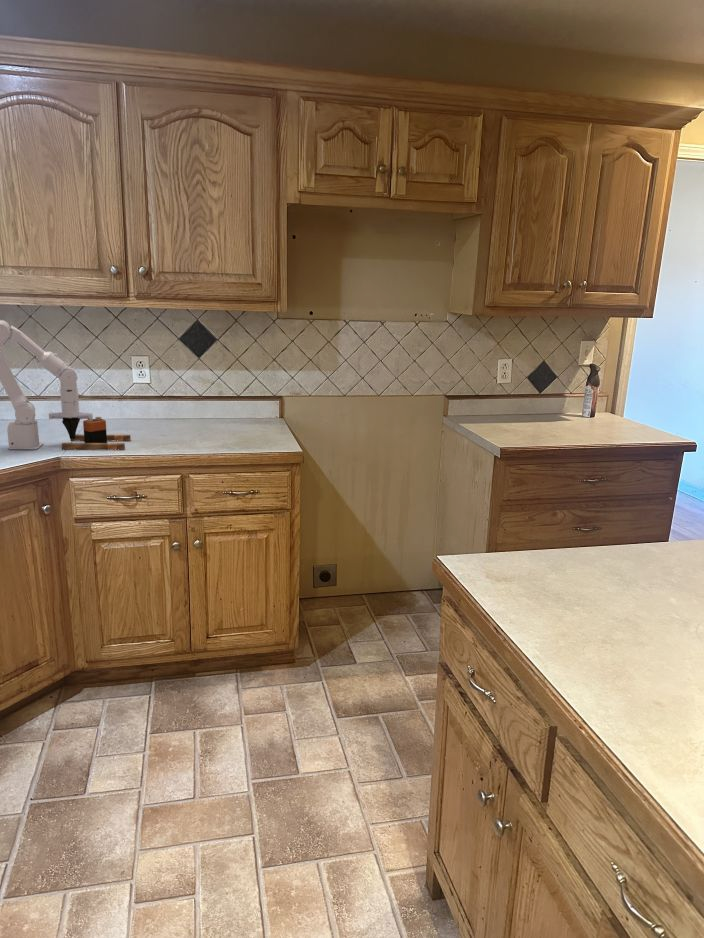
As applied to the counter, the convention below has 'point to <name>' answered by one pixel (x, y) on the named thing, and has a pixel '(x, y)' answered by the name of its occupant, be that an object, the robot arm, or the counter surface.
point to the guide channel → (97, 445)
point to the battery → (95, 430)
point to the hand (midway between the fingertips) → (72, 438)
